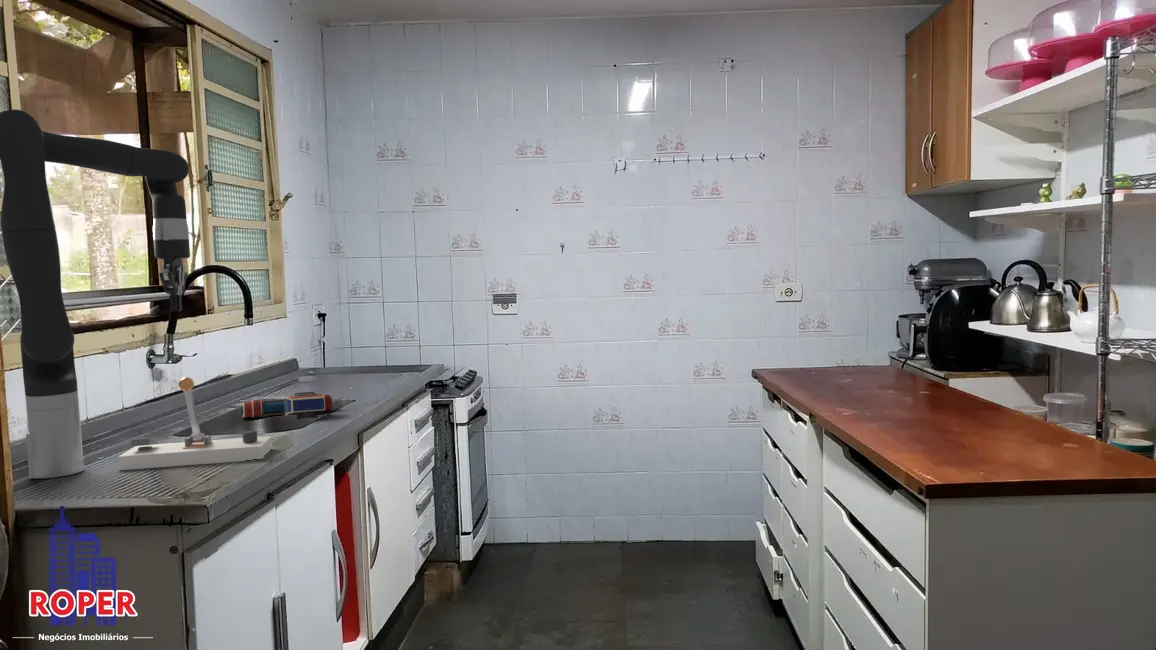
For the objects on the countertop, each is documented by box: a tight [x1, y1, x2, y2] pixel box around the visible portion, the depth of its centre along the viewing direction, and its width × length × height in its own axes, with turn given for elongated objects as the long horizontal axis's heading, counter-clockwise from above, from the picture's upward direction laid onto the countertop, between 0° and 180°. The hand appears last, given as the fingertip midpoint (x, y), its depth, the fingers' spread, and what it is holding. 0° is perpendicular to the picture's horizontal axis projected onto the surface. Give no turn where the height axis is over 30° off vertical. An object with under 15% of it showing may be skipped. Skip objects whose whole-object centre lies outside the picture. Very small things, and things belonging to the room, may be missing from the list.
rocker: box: [130, 437, 158, 447], centre depth 172 cm, size 5×4×1 cm
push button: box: [242, 430, 258, 442], centre depth 176 cm, size 3×3×2 cm
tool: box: [238, 391, 333, 420], centre depth 224 cm, size 8×25×20 cm
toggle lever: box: [177, 376, 206, 443], centre depth 171 cm, size 3×3×16 cm
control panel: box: [117, 434, 273, 471], centre depth 174 cm, size 11×29×5 cm, turn 101°
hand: (176, 311), depth 186 cm, fingers closed
